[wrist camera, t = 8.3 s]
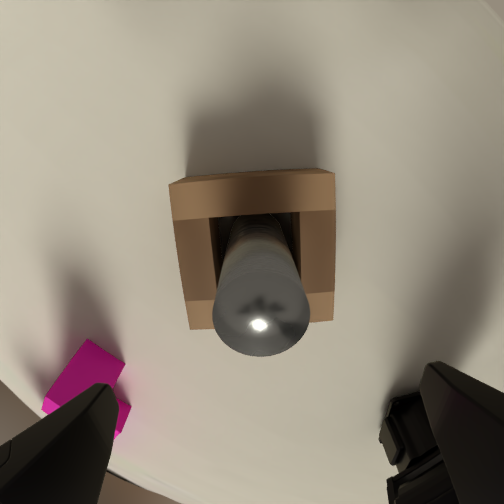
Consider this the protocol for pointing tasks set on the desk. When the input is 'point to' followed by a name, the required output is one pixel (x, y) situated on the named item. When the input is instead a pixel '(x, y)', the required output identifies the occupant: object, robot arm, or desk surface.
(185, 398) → the desk surface
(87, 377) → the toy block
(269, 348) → the metal canister
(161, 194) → the desk surface
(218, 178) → the brown square frame
